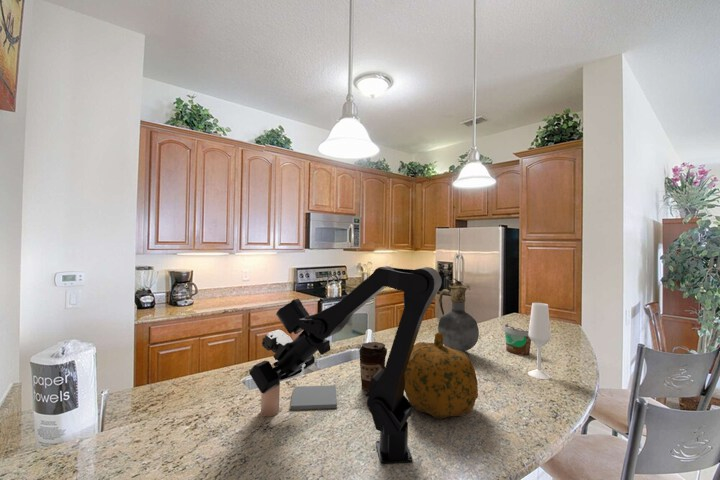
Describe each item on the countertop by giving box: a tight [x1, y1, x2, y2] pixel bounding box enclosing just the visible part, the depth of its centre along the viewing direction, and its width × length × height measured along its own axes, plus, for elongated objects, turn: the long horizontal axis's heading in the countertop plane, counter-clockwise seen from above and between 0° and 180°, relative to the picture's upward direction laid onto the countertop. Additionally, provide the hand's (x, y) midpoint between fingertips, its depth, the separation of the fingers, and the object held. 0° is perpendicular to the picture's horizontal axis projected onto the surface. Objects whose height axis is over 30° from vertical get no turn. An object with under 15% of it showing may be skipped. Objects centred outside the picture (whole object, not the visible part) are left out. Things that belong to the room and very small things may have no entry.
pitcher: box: [437, 277, 480, 356], centre depth 127 cm, size 11×19×30 cm, turn 26°
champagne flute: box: [527, 302, 552, 380], centre depth 107 cm, size 7×7×24 cm
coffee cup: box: [358, 341, 388, 392], centre depth 94 cm, size 9×8×13 cm
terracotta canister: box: [260, 371, 281, 417], centre depth 80 cm, size 5×5×10 cm
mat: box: [289, 384, 338, 411], centre depth 87 cm, size 11×12×1 cm
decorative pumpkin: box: [404, 332, 479, 420], centre depth 84 cm, size 20×21×20 cm
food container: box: [503, 323, 532, 356], centre depth 129 cm, size 12×6×10 cm, turn 25°
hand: (266, 384), depth 81 cm, fingers closed on terracotta canister, 4 cm apart
